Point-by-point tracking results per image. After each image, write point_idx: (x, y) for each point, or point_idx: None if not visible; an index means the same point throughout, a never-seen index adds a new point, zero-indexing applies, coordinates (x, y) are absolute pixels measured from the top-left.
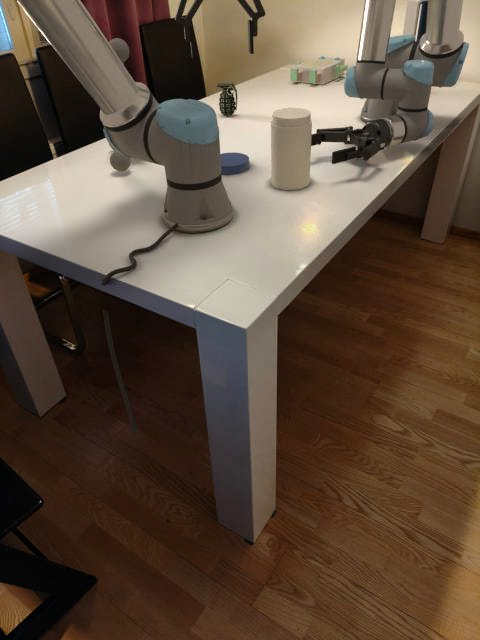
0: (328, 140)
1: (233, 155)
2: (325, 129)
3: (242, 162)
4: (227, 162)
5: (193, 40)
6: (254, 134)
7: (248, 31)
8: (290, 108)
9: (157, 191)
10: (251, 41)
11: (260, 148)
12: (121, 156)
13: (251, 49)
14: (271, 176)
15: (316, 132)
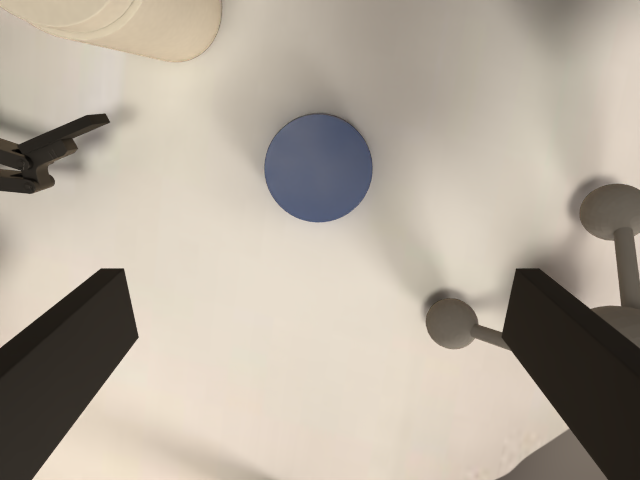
0: (13, 144)
1: (304, 196)
2: (6, 183)
3: (286, 135)
4: (327, 147)
5: (597, 337)
6: (231, 369)
7: (51, 425)
8: (40, 12)
9: (534, 43)
10: (64, 310)
11: (226, 276)
12: (626, 196)
13: (100, 282)
14: (216, 2)
15: (40, 184)
